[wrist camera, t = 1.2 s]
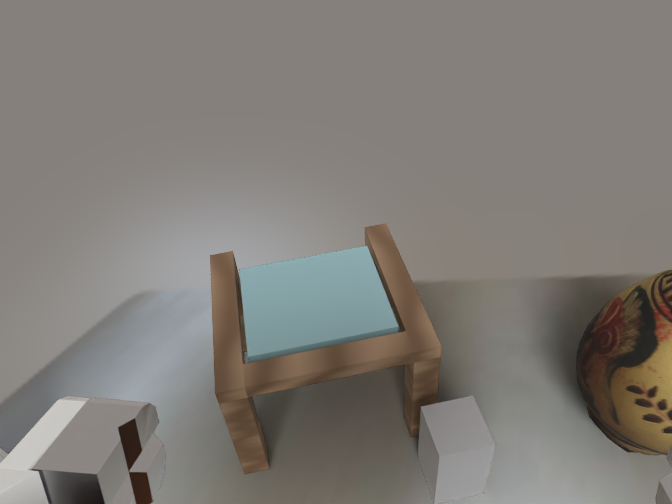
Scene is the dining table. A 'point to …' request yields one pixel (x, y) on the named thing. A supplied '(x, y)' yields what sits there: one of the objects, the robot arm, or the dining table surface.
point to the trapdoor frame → (319, 351)
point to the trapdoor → (313, 303)
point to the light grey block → (454, 449)
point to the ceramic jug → (631, 367)
